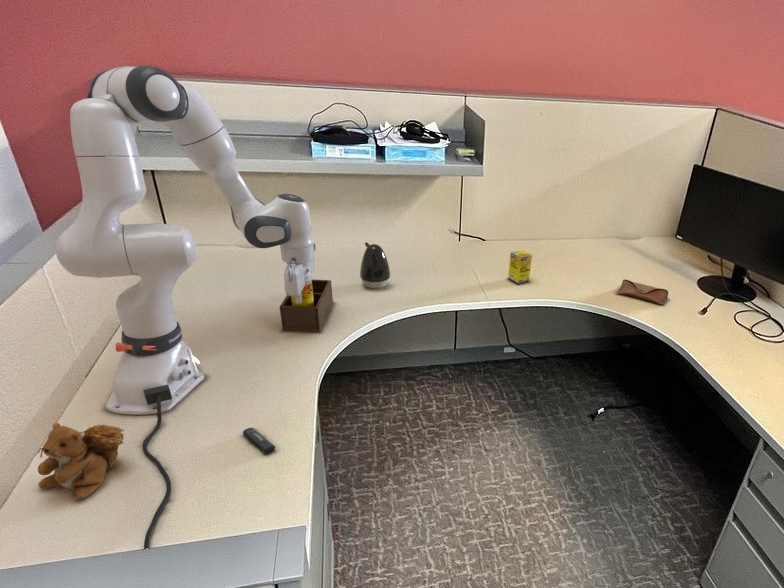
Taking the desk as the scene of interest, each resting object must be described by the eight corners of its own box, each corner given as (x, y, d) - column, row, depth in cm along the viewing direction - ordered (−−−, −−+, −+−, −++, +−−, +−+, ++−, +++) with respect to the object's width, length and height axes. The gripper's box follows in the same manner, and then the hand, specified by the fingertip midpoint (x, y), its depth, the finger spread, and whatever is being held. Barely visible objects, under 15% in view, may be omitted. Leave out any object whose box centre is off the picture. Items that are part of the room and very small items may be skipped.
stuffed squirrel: (34, 490, 106) (9, 436, 99) (105, 447, 118) (86, 395, 111) (72, 507, 104) (49, 452, 97) (141, 461, 115) (124, 409, 108)
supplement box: (517, 285, 210) (520, 257, 204) (507, 279, 214) (510, 252, 208) (529, 281, 214) (532, 254, 208) (519, 276, 217) (521, 249, 212)
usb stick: (276, 450, 122) (276, 444, 121) (265, 455, 120) (264, 450, 119) (253, 430, 126) (252, 425, 126) (242, 435, 125) (241, 430, 124)
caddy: (319, 332, 166) (317, 308, 162) (282, 331, 165) (279, 306, 161) (333, 302, 184) (331, 280, 180) (299, 301, 183) (296, 278, 179)
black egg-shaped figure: (379, 277, 204) (378, 237, 197) (396, 287, 198) (395, 246, 191) (354, 283, 198) (352, 242, 190) (371, 294, 192) (369, 251, 184)
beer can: (308, 323, 166) (304, 276, 159) (289, 319, 167) (284, 272, 159) (318, 314, 171) (314, 268, 164) (300, 311, 172) (295, 265, 165)
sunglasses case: (616, 293, 210) (621, 276, 210) (618, 296, 217) (623, 279, 217) (663, 305, 205) (669, 287, 205) (664, 308, 212) (669, 291, 211)
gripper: (300, 267, 150) (305, 313, 157) (316, 241, 168) (320, 283, 175) (275, 265, 150) (281, 312, 157) (294, 240, 167) (299, 282, 174)
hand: (302, 297), depth 166 cm, fingers closed on beer can, 6 cm apart
